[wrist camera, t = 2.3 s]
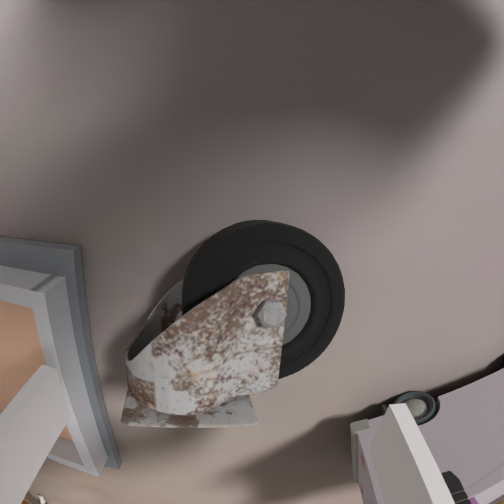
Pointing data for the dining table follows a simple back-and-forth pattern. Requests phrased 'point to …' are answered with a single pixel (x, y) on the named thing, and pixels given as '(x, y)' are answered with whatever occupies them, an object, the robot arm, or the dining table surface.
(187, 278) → the caster wheel
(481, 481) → the toy vehicle
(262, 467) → the dining table surface
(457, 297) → the dining table surface
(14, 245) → the tray
